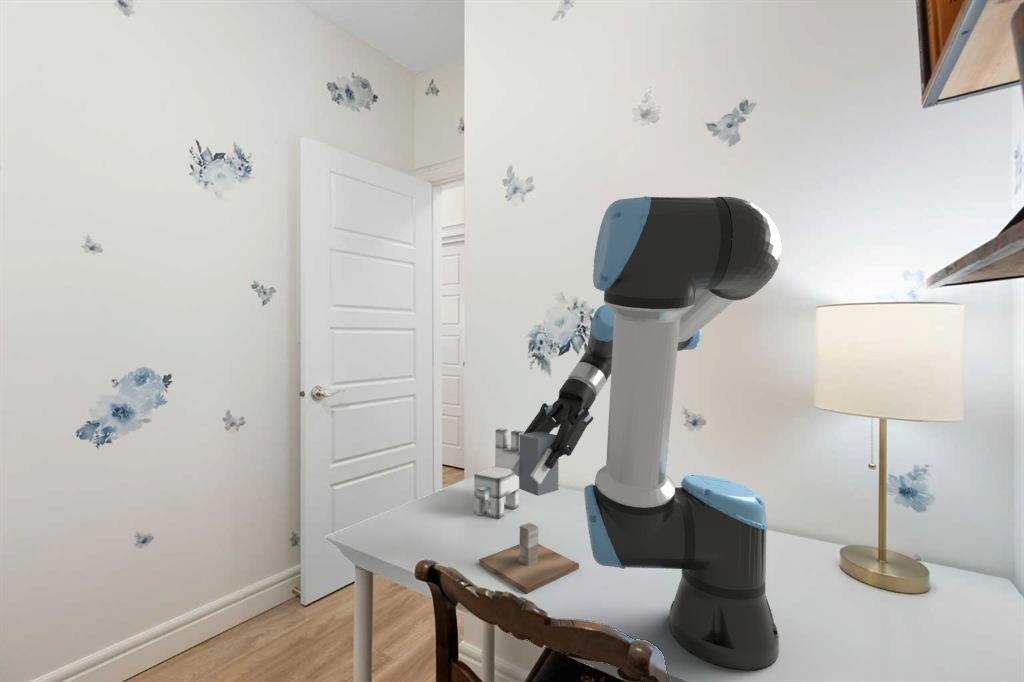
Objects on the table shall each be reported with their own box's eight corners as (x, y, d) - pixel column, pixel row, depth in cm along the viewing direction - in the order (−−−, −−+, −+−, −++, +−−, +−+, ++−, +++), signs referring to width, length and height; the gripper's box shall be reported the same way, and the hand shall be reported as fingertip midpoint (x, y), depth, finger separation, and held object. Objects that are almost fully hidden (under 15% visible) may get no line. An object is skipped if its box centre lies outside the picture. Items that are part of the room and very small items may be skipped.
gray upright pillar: (558, 490, 93) (558, 435, 93) (537, 495, 89) (537, 439, 89) (539, 483, 97) (539, 431, 97) (519, 488, 94) (519, 434, 94)
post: (578, 568, 91) (579, 528, 91) (526, 593, 82) (526, 548, 82) (530, 544, 101) (530, 508, 101) (479, 564, 92) (479, 524, 92)
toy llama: (468, 516, 117) (469, 437, 117) (504, 496, 132) (504, 426, 132) (493, 522, 113) (493, 441, 113) (527, 501, 128) (527, 429, 128)
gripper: (623, 403, 96) (568, 499, 85) (560, 395, 110) (506, 476, 100) (607, 379, 93) (547, 475, 82) (543, 374, 107) (486, 455, 97)
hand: (524, 476), depth 91 cm, fingers closed on gray upright pillar, 6 cm apart
